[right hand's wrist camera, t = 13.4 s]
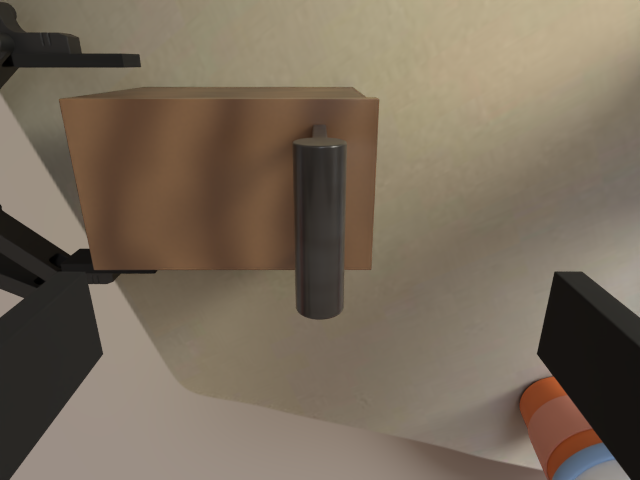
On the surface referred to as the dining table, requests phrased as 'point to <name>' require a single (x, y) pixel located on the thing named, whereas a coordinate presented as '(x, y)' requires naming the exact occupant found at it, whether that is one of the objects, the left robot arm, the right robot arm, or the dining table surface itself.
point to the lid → (229, 186)
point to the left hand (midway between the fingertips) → (148, 169)
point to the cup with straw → (565, 436)
